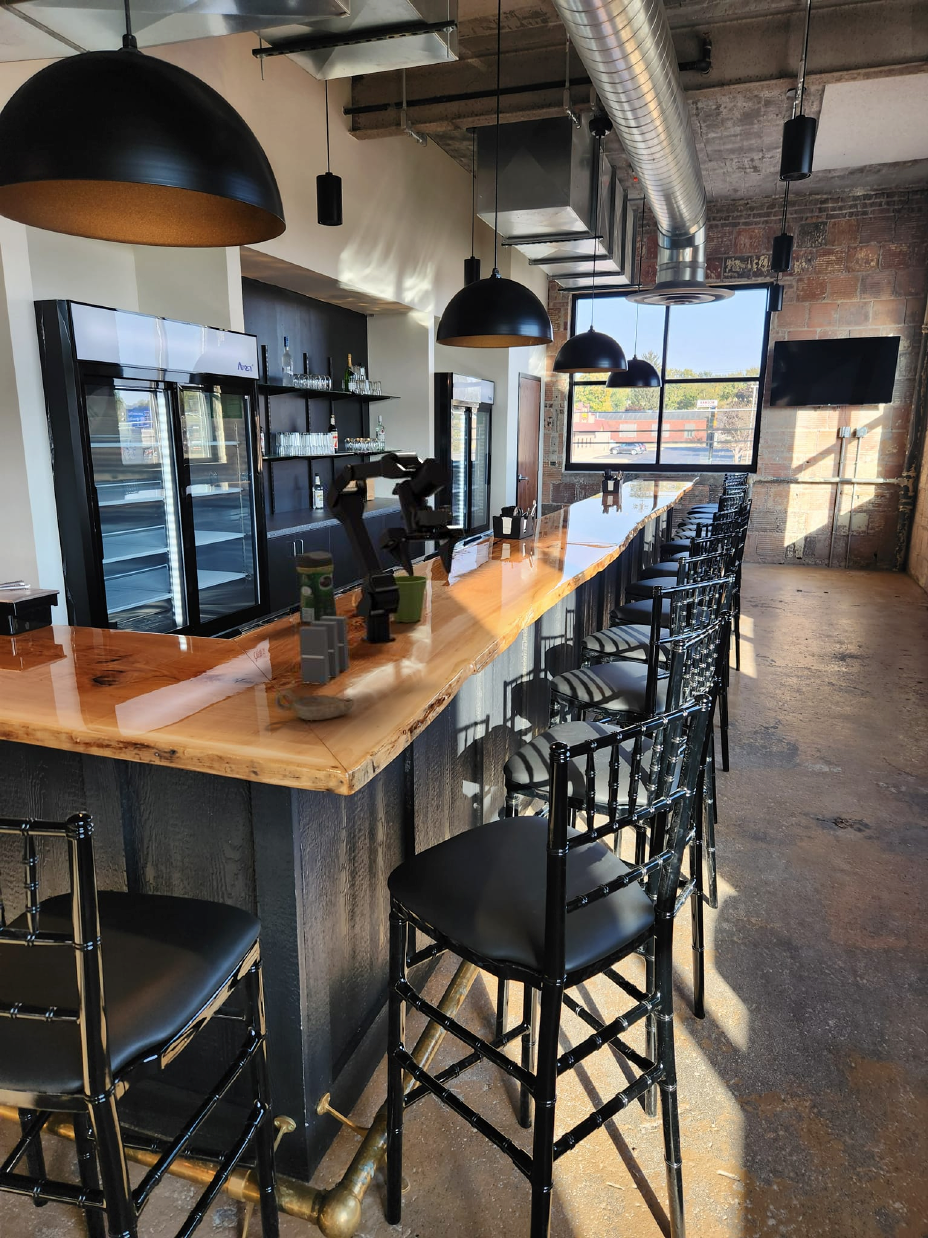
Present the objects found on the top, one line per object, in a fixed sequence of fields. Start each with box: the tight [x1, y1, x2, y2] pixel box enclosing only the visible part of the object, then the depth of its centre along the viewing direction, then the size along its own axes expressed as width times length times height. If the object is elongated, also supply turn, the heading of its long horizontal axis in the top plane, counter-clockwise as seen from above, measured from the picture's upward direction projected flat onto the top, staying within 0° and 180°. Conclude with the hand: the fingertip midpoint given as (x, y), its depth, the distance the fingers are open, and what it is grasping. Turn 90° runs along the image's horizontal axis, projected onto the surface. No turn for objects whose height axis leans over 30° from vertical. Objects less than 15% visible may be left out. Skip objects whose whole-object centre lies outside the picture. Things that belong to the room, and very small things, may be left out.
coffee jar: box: [296, 550, 338, 625], centre depth 208 cm, size 10×8×19 cm
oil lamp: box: [275, 689, 355, 722], centre depth 133 cm, size 13×8×5 cm, turn 92°
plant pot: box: [392, 575, 429, 624], centre depth 208 cm, size 12×12×11 cm
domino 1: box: [298, 625, 331, 685], centre depth 153 cm, size 2×5×11 cm, turn 77°
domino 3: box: [320, 616, 350, 672], centre depth 162 cm, size 2×5×11 cm, turn 76°
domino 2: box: [309, 621, 340, 678], centre depth 158 cm, size 2×5×11 cm, turn 76°
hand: (430, 574), depth 166 cm, fingers open, 9 cm apart
